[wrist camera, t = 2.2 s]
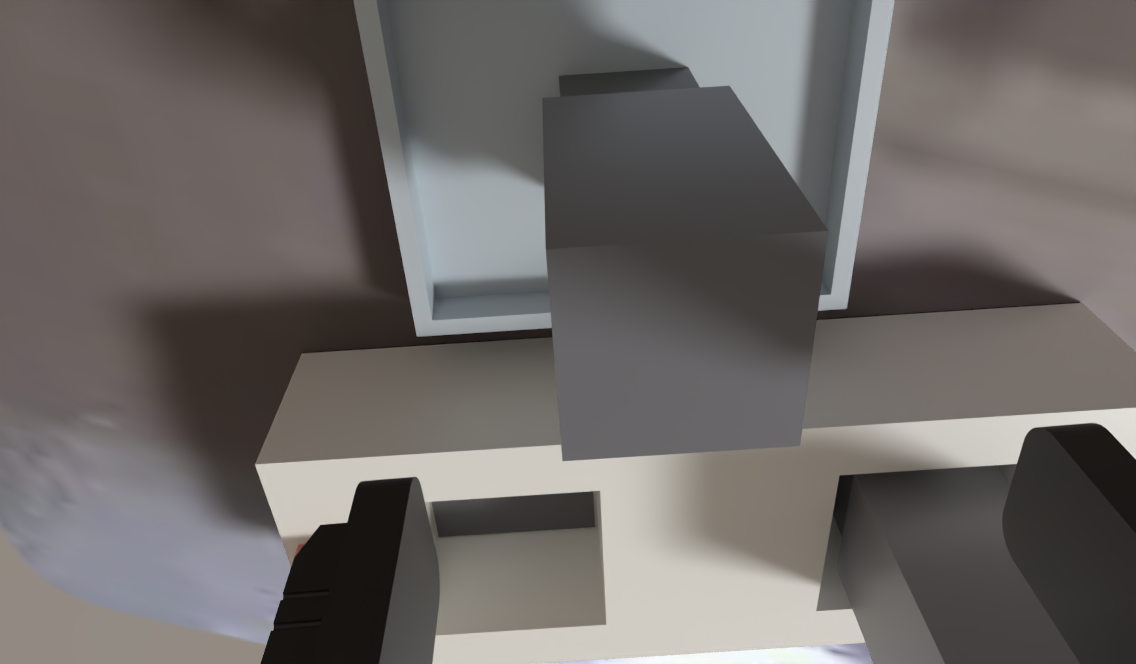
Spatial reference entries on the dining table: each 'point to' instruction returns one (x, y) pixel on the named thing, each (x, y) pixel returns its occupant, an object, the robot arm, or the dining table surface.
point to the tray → (531, 72)
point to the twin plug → (938, 571)
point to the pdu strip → (670, 477)
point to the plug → (674, 270)
